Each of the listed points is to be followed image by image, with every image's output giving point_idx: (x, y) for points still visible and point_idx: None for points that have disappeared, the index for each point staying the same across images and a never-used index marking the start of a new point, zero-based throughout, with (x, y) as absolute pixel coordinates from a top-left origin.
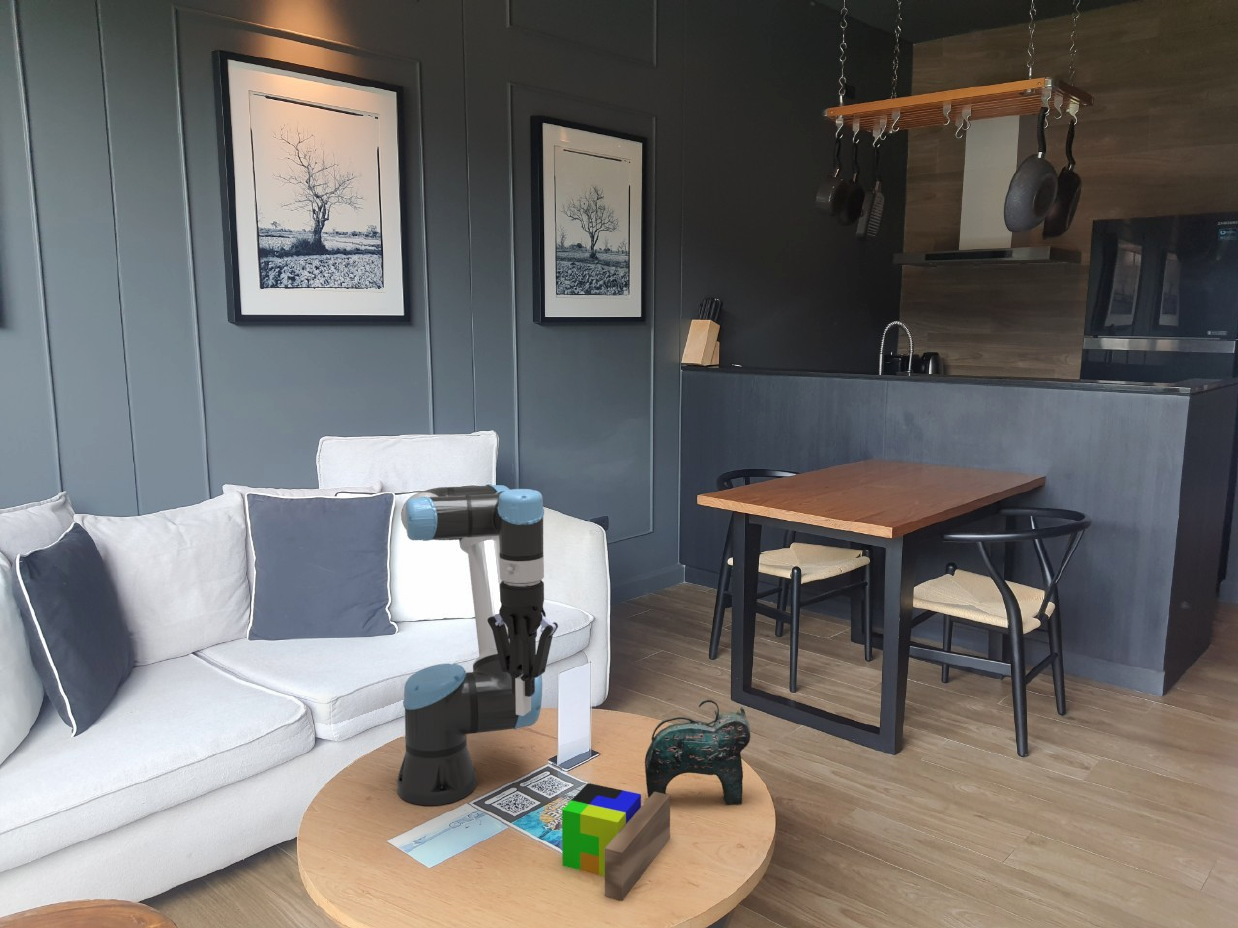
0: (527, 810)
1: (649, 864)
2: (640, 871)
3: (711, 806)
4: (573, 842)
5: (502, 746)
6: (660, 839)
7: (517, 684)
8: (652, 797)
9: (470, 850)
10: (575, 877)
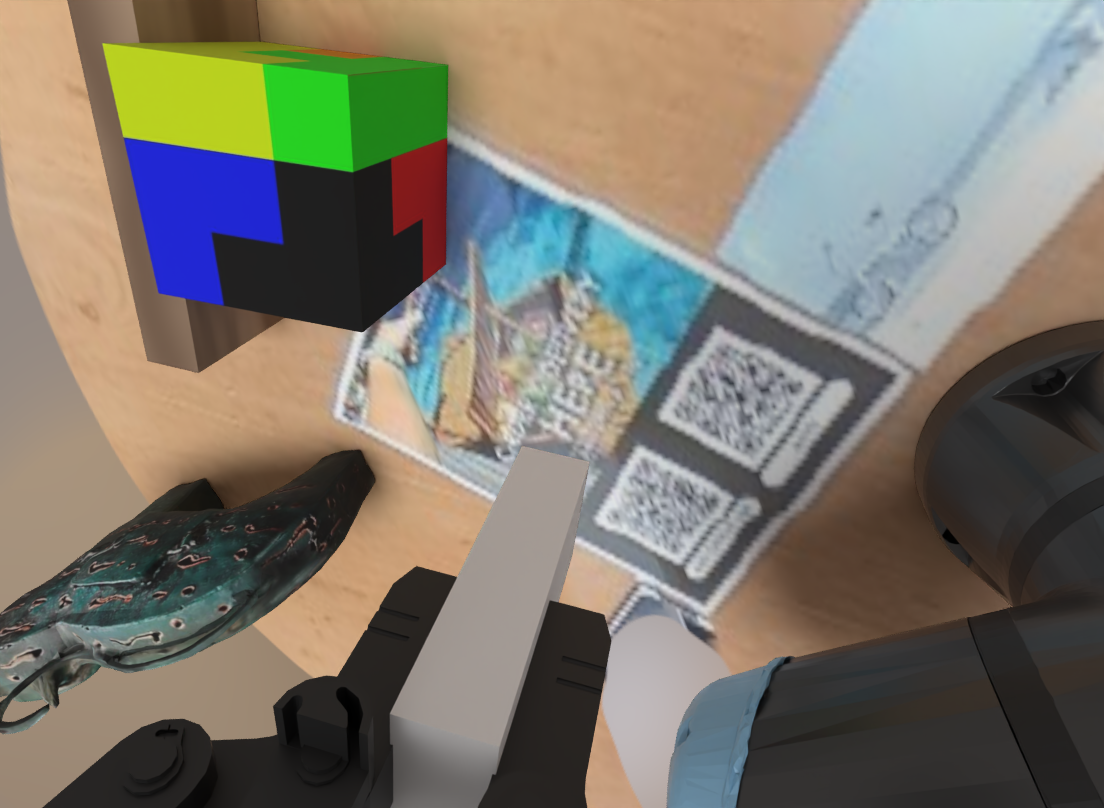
0: (684, 365)
1: None
2: None
3: (229, 467)
4: (363, 62)
5: None
6: None
7: (493, 671)
8: (182, 333)
9: (812, 52)
10: (379, 3)
